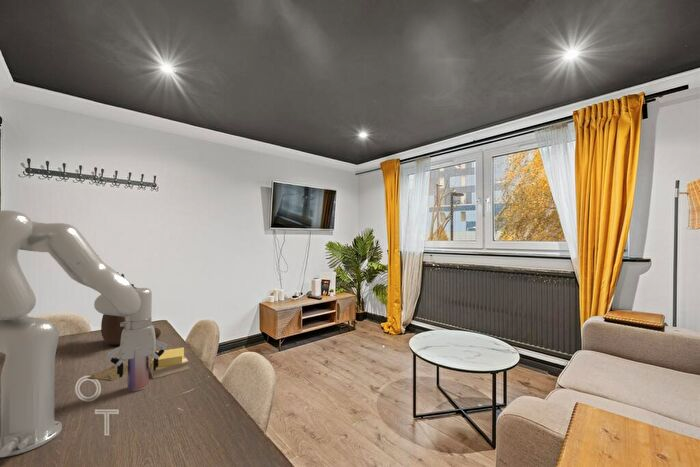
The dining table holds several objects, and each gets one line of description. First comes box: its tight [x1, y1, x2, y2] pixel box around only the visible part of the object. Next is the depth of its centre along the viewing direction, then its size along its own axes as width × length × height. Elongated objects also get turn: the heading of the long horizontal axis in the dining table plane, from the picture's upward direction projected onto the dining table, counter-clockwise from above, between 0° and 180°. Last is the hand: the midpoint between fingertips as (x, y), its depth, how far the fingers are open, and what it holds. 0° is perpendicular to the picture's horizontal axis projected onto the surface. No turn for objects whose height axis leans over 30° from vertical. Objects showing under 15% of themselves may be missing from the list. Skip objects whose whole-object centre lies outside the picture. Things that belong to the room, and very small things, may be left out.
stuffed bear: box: [100, 271, 162, 346], centre depth 152 cm, size 29×23×35 cm
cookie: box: [87, 364, 128, 382], centre depth 116 cm, size 12×12×1 cm
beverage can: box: [127, 347, 150, 392], centre depth 104 cm, size 6×6×15 cm
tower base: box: [149, 355, 190, 380], centre depth 119 cm, size 12×12×3 cm
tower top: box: [151, 347, 185, 368], centre depth 119 cm, size 10×10×3 cm
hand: (138, 372), depth 104 cm, fingers open, 9 cm apart
